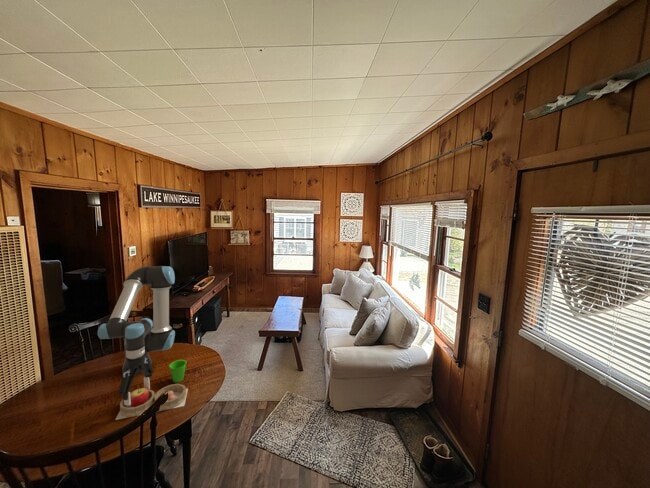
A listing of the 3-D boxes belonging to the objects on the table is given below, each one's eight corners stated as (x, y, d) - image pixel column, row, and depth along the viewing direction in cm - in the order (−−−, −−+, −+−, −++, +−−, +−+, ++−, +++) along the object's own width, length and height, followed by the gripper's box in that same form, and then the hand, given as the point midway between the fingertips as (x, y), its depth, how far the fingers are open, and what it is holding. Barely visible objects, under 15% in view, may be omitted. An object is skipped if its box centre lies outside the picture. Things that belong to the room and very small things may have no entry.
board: (115, 422, 122) (115, 419, 121) (125, 401, 135) (125, 399, 134) (184, 408, 132) (184, 405, 132) (188, 390, 145) (188, 388, 145)
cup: (179, 387, 147) (178, 369, 146) (165, 385, 149) (165, 367, 147) (190, 378, 156) (190, 361, 154) (177, 375, 157) (177, 358, 156)
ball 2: (167, 401, 134) (166, 395, 134) (174, 398, 137) (174, 392, 136) (168, 405, 132) (168, 399, 131) (176, 402, 134) (176, 396, 134)
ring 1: (119, 404, 131) (118, 397, 130) (151, 392, 140) (151, 385, 140) (122, 421, 121) (121, 413, 120) (157, 407, 130) (156, 399, 130)
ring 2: (152, 398, 136) (152, 391, 136) (181, 387, 146) (181, 380, 145) (157, 414, 126) (157, 406, 125) (189, 400, 135) (188, 393, 135)
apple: (147, 397, 137) (146, 379, 136) (150, 405, 131) (149, 387, 130) (127, 404, 131) (127, 386, 130) (130, 413, 125) (129, 394, 124)
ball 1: (165, 397, 137) (165, 391, 137) (172, 394, 140) (172, 388, 139) (166, 400, 135) (166, 394, 134) (174, 397, 137) (174, 391, 137)
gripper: (121, 370, 116) (123, 414, 118) (160, 344, 139) (161, 382, 141) (106, 368, 116) (109, 412, 119) (147, 343, 139) (149, 380, 142)
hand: (137, 396), depth 130 cm, fingers open, 11 cm apart
